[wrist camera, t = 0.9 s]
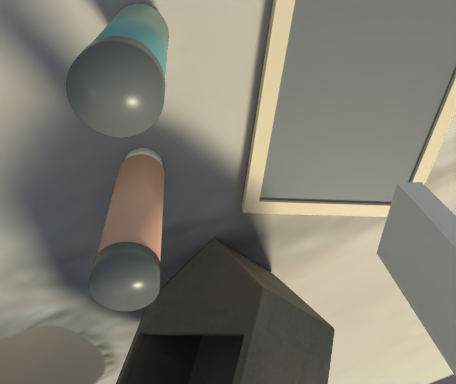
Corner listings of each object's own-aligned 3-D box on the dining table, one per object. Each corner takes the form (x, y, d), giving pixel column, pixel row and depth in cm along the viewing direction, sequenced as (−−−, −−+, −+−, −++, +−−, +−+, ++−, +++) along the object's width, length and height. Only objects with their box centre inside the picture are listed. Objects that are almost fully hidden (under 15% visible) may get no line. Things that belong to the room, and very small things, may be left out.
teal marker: (116, 55, 26) (71, 134, 15) (113, -4, 24) (60, 39, 13) (169, 59, 26) (163, 139, 16) (170, 2, 25) (165, 49, 14)
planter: (279, 217, 29) (189, 593, 18) (343, 263, 32) (299, 604, 21) (166, 252, 41) (75, 485, 31) (221, 282, 45) (155, 502, 34)
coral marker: (121, 183, 31) (91, 311, 20) (119, 143, 29) (85, 261, 18) (165, 184, 32) (159, 310, 21) (166, 145, 30) (160, 261, 19)
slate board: (241, 207, 34) (243, 213, 33) (282, -58, 24) (285, -58, 23) (405, 211, 36) (410, 217, 35) (506, -28, 26) (516, -27, 25)
